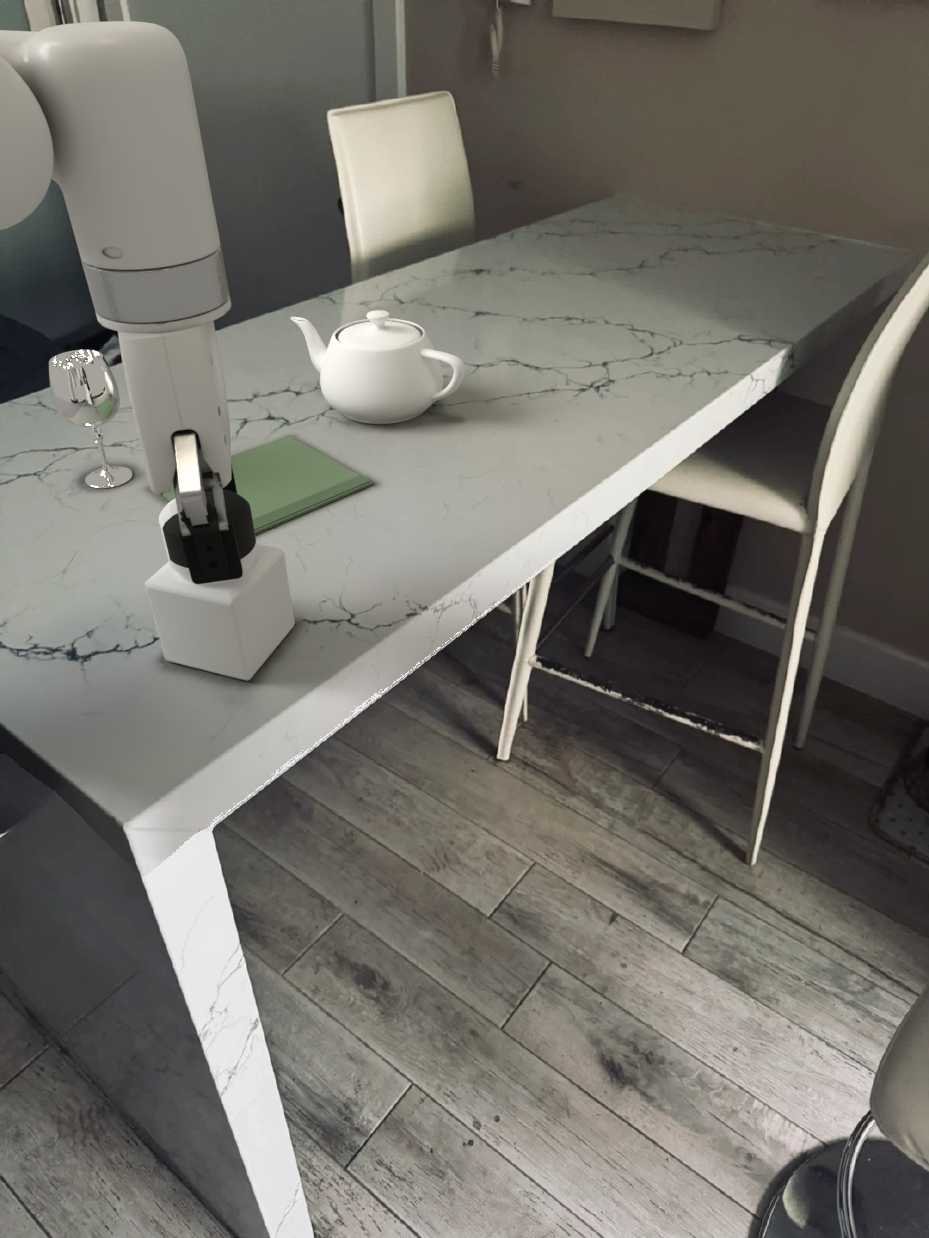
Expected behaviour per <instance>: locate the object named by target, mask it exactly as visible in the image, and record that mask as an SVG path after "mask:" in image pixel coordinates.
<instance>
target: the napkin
mask: <svg viewBox="0 0 929 1238" xmlns="http://www.w3.org/2000/svg"><path fill="white" fill-rule="evenodd" d="M231 464H232V469H233V474H234V479H235V484H236V489H237V494H239V495H240V496H242V497H243V498H244V499H245V500H247V501H248V503H249V504H250V508H251V513H252V519H253V525H254V531H255V535H258V534H260V533H263V532H265V531H267V530H269V529H271V528H274V527H276V526H278V525H281V524H284V523H286V522H288V521H290V520H293V519H295V518H297V517H299V516H302V515H305V514H307V513H309V512H312V511H314V510H316V509H318V508H321V507H324V506H326V505H328V504H330V503H333V502H335V501H338V500H340V499H343V498H344V497H347V496H349V495H352V494H354V493H356V492H359V491H361V490H363V489H365V488H368V487H371V486H373V482H372V481H371V479H369V478H367V477H365V476H364V475H362V474H358V473H357V472H355V471H353V470H352V469H349V468H348V467H346V466H345V465H342V464H341V463H339V462H337V461H336V460H334V459H332V458H330V457H328V456H327V455H325V454H324V453H321V452H320V451H317V450H315V448H312V447H310V446H309V445H307V444H305V443H304V442H301V441H300V440H298V439H297V438H295V437H293V436H292V435H288V436H286V437H283V438H280V439H277V440H275V441H272V442H269V443H267V444H264V445H261V446H258V447H256V448H253V449H250V450H248V451H244V452H242V453H240V454H236V455H234V456H231ZM173 487H174V485H173V483H172V488H171V492H170V493H163V495H162V496H161V497H162V498H164V499H165V500H167V501H168V503H169V502H170V501H172V500H173V499H175V492H174V488H173Z"/></svg>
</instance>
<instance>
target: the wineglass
mask: <svg viewBox="0 0 929 1238" xmlns="http://www.w3.org/2000/svg"><path fill="white" fill-rule="evenodd" d="M48 380H49V388H50V393H51V399H52V402H53V404H54V407H55V409H56V411H57V412H58V414H59V415H60V417H61V418H63V420H65V421H66V422H67V423H69V424H70V425H73V426H77V427H81V428H91V431H90V434H91V438H92V440H93V441H94V443H95V445H96V447H97V449H98V452H99V455H100V459H101V467H100V468H98V469H95V470H93V471H91V472H89V473H88V474H87V475H86V476H85V478H84V483H85V484H86V486H88V487H90V488H94V489H109V488H110V489H111V488H115V487H119V486H122V485H124V484H126V483H127V482H129V481H130V480H131V479H132V478H133V475H134V474H133V471H132V469H130V468H128V467H126V466H121V465H110V464H109V462H108V459H107V456H106V453H105V449H104V448H105V447H104V433H103V431H102V429H101V428H100V426H103V425H105V424H106V423H108V422H110V421H111V420H112V419H114V418H115V417H116V415H117V414H118V412H119V409H120V405H121V396H120V391H119V386H118V384H117V381H116V378H115V376H114V374H113V371H112V369H111V367H110V366H109V364H108V362H107V360H106V358H105V356H104V354H103V353H102V352H100V351H97V350H95V349H76V350H75V349H74V350H70V351H69V350H68V351H65V352H61V353H58V354H57V355H54V356H52V357H51V358H50V359H49V361H48Z"/></svg>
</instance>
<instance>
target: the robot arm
mask: <svg viewBox="0 0 929 1238" xmlns="http://www.w3.org/2000/svg"><path fill="white" fill-rule="evenodd" d="M204 151H205V150H204V145H203V141H202V134H201V130H200V124H199V118H198V113H197V107H196V101H195V95H194V90H193V84H192V78H191V73H190V70H189V65H188V60H187V56H186V53H185V51H184V49H183V46H182V45H181V42H180V40H179V39H178V38H177V37H176V36H175V34H174V33H173V32H172V31H171V30H169V29H168V28H166V27H165V26H161V25H159V24H156V23H153V22H145V21H137V20H136V21H133V20H116V21H115V20H113V21H109V20H108V21H88V22H76V23H75V22H73V23H65V24H64V23H63V24H59V25H53V26H50V27H44V28H43V29H41V30H39V31H33V30H32V31H29V30H7V29H0V231H2V230H7V229H9V228H11V227H13V226H15V225H17V224H19V223H21V222H23V221H24V220H25V219H26V218H27V217H29V216H30V215H31V214H32V213H34V211H36V209H38V206H40V204H41V203H42V201H43V200H44V199H45V196H46V194H47V193H48V190H49V187H50V184H51V180H52V181H54V182H55V183H56V184H57V185H58V187H59V188H60V190H61V192H62V195H63V199H64V203H65V206H66V211H67V213H68V217H69V220H70V221H69V222H70V224H71V228H72V231H73V235H74V239H75V242H76V246H77V249H78V253H79V257H80V261H81V264H82V265H81V266H82V269H83V272H84V275H85V280H86V283H87V286H88V291H89V294H90V297H91V301H92V304H93V308H94V312H95V316H96V320H97V322H98V324H100V325H101V327H103V328H106V329H108V330H112V331H116V332H117V337H118V343H119V350H120V356H121V362H122V369H123V372H124V379H125V384H126V388H127V393H128V397H129V401H130V402H129V403H130V406H131V407H130V408H131V411H132V415H133V419H134V420H133V421H134V424H135V428H136V432H137V436H138V441H139V445H140V450H141V453H142V459H143V463H144V467H145V472H146V477H147V481H148V485H149V489H150V491H151V492H152V493H153V494H154V495H156V496H157V497H163V496H162V495H163V493H170V492H171V488H172V483H173V485H174V487H173V488H174V492H175V498H176V504H177V511H178V517H179V523H180V529H179V533H180V537H181V540H182V544H183V548H184V552H185V556H186V560H187V564H188V568H189V571H190V575H191V579H192V582H193V583H195V584H204V583H211V582H218V581H225V580H232V579H238V578H240V577H242V575H243V570H242V564H241V559H240V555H239V550H238V545H237V541H236V536H235V531H234V526H233V522H232V521H227V514H226V508H225V502H224V495H223V490H227V491H231V492H234V493H237V489H236V484H235V479H234V474H233V469H232V464H231V457H232V443H231V440H232V439H231V425H230V424H231V423H230V412H229V404H228V403H229V402H228V397H227V388H226V383H225V377H224V371H223V365H222V359H221V354H220V353H221V352H220V349H219V343H218V337H217V332H216V327H215V322H214V321H216V320H218V319H220V318H221V317H223V316H225V315H226V313H228V312H229V311H230V309H232V301H231V296H230V290H229V283H228V279H227V278H228V277H227V273H226V267H225V261H224V256H223V250H222V245H221V240H220V233H219V229H218V222H217V218H216V213H215V207H214V202H213V197H212V195H213V194H212V191H211V185H210V179H209V174H208V168H207V162H206V156H205V152H204ZM211 491H213V496H214V502H215V507H213V505H212V503H207V502H206V496H205V492H211Z"/></svg>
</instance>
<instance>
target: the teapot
mask: <svg viewBox="0 0 929 1238" xmlns="http://www.w3.org/2000/svg"><path fill="white" fill-rule="evenodd" d="M390 316H391V315H390V312H389V311H386V310H380V309H376V310H371V311H368V312H367V313H366V318H365V319H359V320H355V321H351V322H347V323H345V324H343V325H341V326H340V327H338V328H337V329H335V331H334V332H333V333H332V334H331V338H330V340H329V343H328V345H327V346H326V345H325V343H324V342H323V340H322V338H321V336H320V334H319V333H318V330H317V329H316V327H315V326H314V325H313V324H312V322H311V321H310V320H309V319H306V318H304V317H300V316H291V317H290V318H289V319H290V320H291V321H292V322H293V323H294V324H295V325H297V327H298V328H300V330H301V332H302V334H303V336H304V339H305V342H306V345H307V346H306V347H307V350H308V354H309V358H310V361H311V363H312V365H313V367H314V369H315V370H316V371H317V372H318V373H319V374H320V376H319V385H320V390H321V394H322V396H323V398H324V399H325V400H326V402H327V403H328V404H329V406H331V407H332V408H334V409H335V410H336V411H337V412H339V413H341V414H342V415H343V416H344V417H345V418H348V419H350V420H352V421H356V422H359V423H363V424H371V425H372V424H374V425H389V424H396V423H402V422H406V421H410V420H413V419H414V418H417V417H418V416H420V415H422V414H423V413H424V412H425V411H427V409H428V408H430V407H431V406H432V405H433V404H435V402H436V401H439V400H441V399H444V398H446V397H448V396H449V395H451V394H453V393H454V392H455V391H456V390H457V389H458V388H459V386H460V385H461V384H462V382H463V380H464V378H465V371H466V368H465V363H464V361H463V360H462V359H461V358H460V357H459V356H456V355H454V354H451V353H448V352H444V351H440V350H435V347H434V346H433V344H432V342H431V339H430V337H429V335H428V333H427V332H426V330H425V329H424V328H423V327H422V326H421V325H419V324H417V323H416V322H412V321H409V320H406V319H405V320H404V319H399V318H390ZM441 362H442V363H445V364H447V365H449V366H450V367H451V368H452V370H453V375H452V378H451V380H450V381H449V383H448V385H447V386H445V387H444V372H443V367H442V365H441Z"/></svg>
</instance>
